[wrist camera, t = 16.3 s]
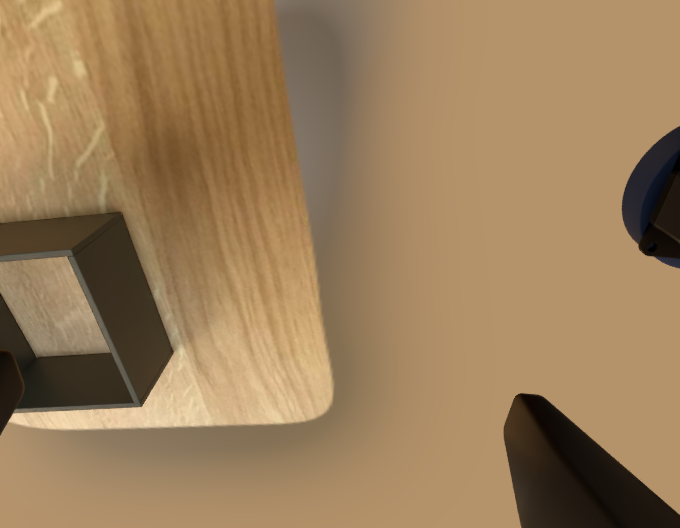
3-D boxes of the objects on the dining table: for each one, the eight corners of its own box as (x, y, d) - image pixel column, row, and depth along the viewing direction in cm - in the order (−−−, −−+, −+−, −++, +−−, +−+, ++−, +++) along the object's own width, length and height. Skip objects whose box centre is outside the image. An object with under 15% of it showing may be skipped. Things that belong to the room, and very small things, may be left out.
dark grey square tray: (121, 212, 21) (70, 249, 17) (173, 353, 24) (141, 407, 21) (-44, 227, 21) (-124, 265, 18) (33, 362, 25) (-20, 415, 22)
